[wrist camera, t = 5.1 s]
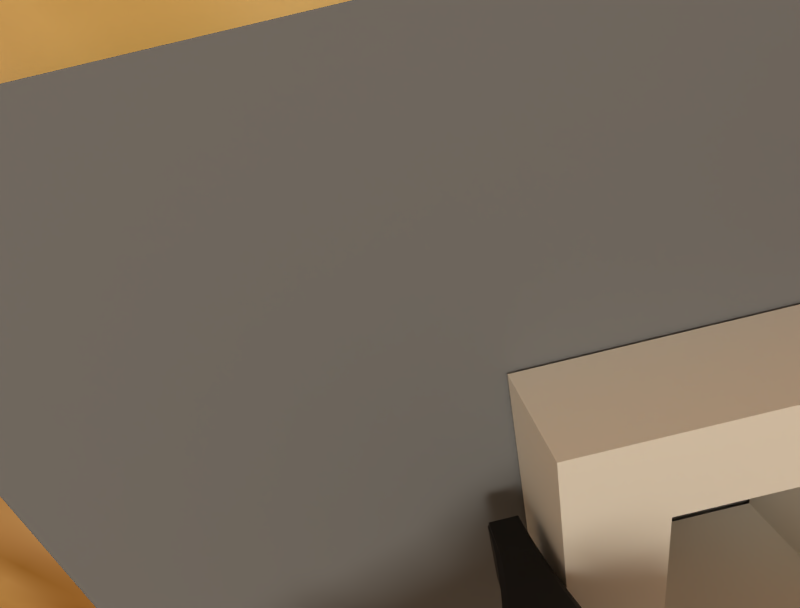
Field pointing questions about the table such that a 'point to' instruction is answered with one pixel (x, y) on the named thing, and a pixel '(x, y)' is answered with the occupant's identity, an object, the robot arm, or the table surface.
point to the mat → (363, 276)
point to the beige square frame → (669, 467)
